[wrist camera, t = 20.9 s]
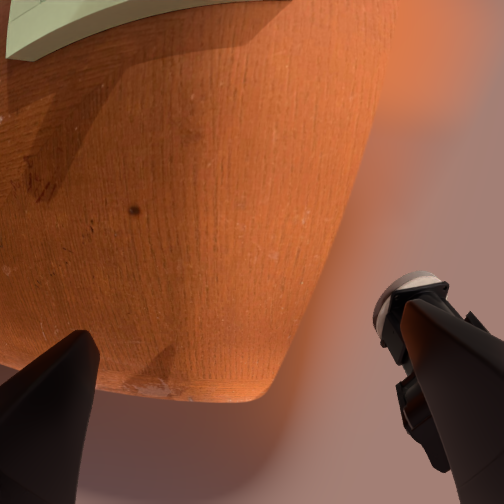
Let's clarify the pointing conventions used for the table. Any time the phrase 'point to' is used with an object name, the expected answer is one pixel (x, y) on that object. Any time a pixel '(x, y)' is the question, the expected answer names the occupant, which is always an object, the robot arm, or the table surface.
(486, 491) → the robot arm
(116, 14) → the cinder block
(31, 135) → the table surface
